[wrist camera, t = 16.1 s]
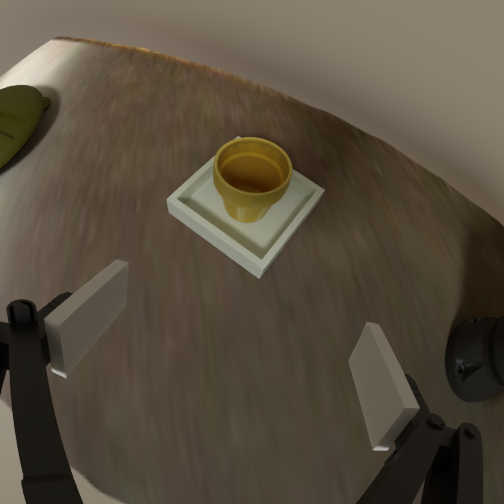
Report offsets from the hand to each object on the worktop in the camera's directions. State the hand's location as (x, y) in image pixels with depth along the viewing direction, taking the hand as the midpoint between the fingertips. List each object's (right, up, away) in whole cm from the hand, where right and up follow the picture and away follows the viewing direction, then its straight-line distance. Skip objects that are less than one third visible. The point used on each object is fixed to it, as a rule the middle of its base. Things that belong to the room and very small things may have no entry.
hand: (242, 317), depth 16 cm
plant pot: (-1, +11, +33) cm, 34 cm away
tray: (0, +10, +33) cm, 35 cm away
